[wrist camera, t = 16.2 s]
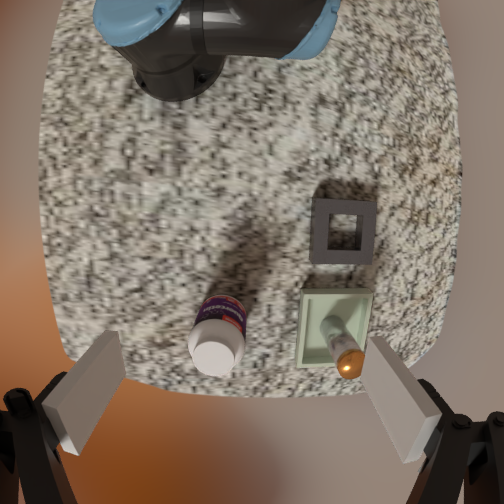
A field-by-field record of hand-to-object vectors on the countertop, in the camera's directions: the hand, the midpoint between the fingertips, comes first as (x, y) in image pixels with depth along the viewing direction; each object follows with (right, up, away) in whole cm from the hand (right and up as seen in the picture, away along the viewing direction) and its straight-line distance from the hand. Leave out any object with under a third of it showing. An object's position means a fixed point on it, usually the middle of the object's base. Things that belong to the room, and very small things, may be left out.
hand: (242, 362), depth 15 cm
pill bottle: (-4, -5, +37) cm, 37 cm away
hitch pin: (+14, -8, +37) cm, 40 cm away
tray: (+14, -8, +37) cm, 41 cm away
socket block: (+15, +9, +34) cm, 38 cm away
